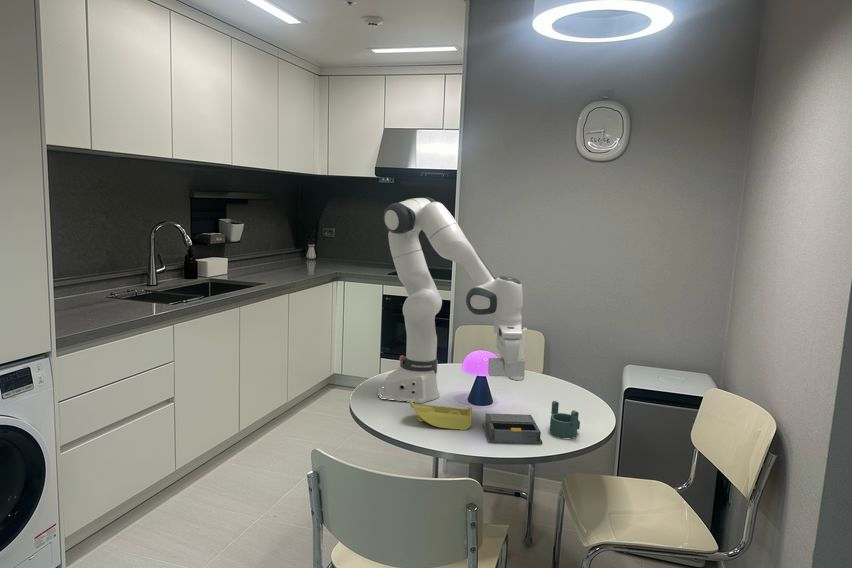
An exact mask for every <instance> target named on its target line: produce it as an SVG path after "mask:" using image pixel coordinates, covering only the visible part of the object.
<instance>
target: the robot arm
mask: <svg viewBox="0 0 852 568" xmlns="http://www.w3.org/2000/svg"><path fill="white" fill-rule="evenodd" d="M383 222H384V225H385V227H386V229H387V231H388V236H387V237H388V245H389V250H390V253H391V257H392V261H393V263H394V267H395V271H396V273H397V276H398V279H399V281H400V282H401V283H402V285H403V288H404V289H405V290H406V293H407V295H408V296H407V297H406V299H405V301H404V303H403V305H402V315H403V318H404V325H405V326H404V327H405V332H406V348H405V349H406V350H405V351H406V353H405V355H403V354H402V355H400V356H399V361H400V364H399V367H398V368H395V370H393V371H392V372H390V373H388V375H387V376H386V378H385V380H384V384H383V386H384V388H381V387H380V388H381V389H380V388H379V389H378V391H377V395H378V394H379V396H380V397H381V398H386V399H394V400H401V401H407V402H406V403H410V401H413V402H415V404H424V403H426V402H430V401H434V400H436V399H438V398H439V397H440V393H439V389H438V382H437V373H438V365H439V364H438V363H439V361H438V358H437V351H438V349H437V348H438V335H437V331H436V321H435V320H436V315H437V314H439V313H440V311H441V309H442V306H443V298H442V296H441V294H440V293H439V291H438V288H437V285H436V284H435V281H434V279H433V277H432V275H431V273H430V270H429V268H428V264H427V262H426V258H425V255H424V252H423V250H422V245H421V242H420V239H419V238H420V237H419V234H420V232H421V231H422V232H423V233H424V234H425V236H426V238H427V239H428V242H429V243H430V245H431V246H432V248H433V249H434V251H435V252H436V253H437V254H438V255H439V257H442V258H443V259H446V260H447V261H448V260H449V261H452V262H454V263H457V264H459V265H460V266H462V267H463V268H464V269H465V270H466V272H467V273H468V275H469V276H470V277H471V279H472V280H473V281H474V282H473V283H475V285H476V286H474V287H472V288H471V289H469V290H468V292H467V293H466V296H465V304H466V307H467V309H468V310H469V311H470V312H471V313H472V314H473V315H478V316H485V315H493V333H494V334H496V343H495V344H496V346H495V347H496V349H497V351H498V352H499V354H500V358H503V359H504V360H505V366H504V371H505V372H506V373H509V372H510V367H511V364H512V363H517V362H518V358H519V350H520V339H522V327H523V326H522V325H523V324H522V323H523V317H522V316H523V315H522V308H523V306H524V304H523V303H524V302H523V301H524V299H523V297H524V293H523V285H522V283H521V281H520V279H518V278H515V277H512V276H506V275H500V276H498V277H497V278H495V276H494V275H493V274H492V272H491V270H489V268H488V267H487V265H486V264H485V262H484V260H482V258H481V256H480V255H479V254H478V253H477V251H476V249H474V247H473V245H472V244H471V243H470V242H469V240H468V239H467V236H465V233H464V232H463V230H462V229H461V227H460V226H459V224H458V222H457V221H456V219H455V218H454V216H453V215H452V214H451V212H450V211H449V210H448V208H446V206H445V205H444V204H443V203H441V202H439V201H436V200H435V199H434V198H432V197H428V196H422V197H416V198H415V197H414V198H408V199H405V200H404V201H400V202H394V203H391V204H390V205H389V206H388V207H387V206H386V208H385V210H384V212H383ZM380 394H381V395H382V396H381V395H380Z"/></svg>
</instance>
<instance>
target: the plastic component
mask: <svg viewBox="0 0 852 568" xmlns="http://www.w3.org/2000/svg"><path fill="white" fill-rule="evenodd" d="M409 405H410V407H411V408H412V409H413V410H414V412H415V413H416V414H417V417H416V421H418V422H420V421H419V420H423V421H422V422H426V423H427V424H429V425H432V426H433V427H437V428H440V429H451V430H458V429H459V430H461V431H465V430H467V429H469V428H470V427H471V425H472V417H473V416H472V415H473V408H472V407H471V406H469V407H468V408H457V407H456V408H455V407H447V406H439V405H438V406H437V405H430V404H423V403H413V401H410V402H409ZM459 430H458V431H459Z"/></svg>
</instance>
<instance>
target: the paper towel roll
mask: <svg viewBox="0 0 852 568" xmlns="http://www.w3.org/2000/svg"><path fill="white" fill-rule="evenodd" d="M527 337H528V328H527V327H523V326H522V339H520V350H519V358H523V360H524V361H525V362H526V352H527ZM525 366H526V365H525ZM525 366H524V372H525V369H526V367H525ZM508 378H509V379H511V380H514V381H523V380H524V379H525V376H524V377H515V376H508Z"/></svg>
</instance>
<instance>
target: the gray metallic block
mask: <svg viewBox="0 0 852 568" xmlns="http://www.w3.org/2000/svg"><path fill="white" fill-rule="evenodd" d="M487 364H488V367H487V368H488V370H487V371H488V372H487V374H488V375H489V377H509V376H515V377H524V378H525V371H524V366H526V360H525V361H524V360H523V358H518V362H517V363H512V364H511V367H510V372H509V373H506V372H505V371H504V366H505V360H504V359H503V358H501V357H488V363H487Z"/></svg>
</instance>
